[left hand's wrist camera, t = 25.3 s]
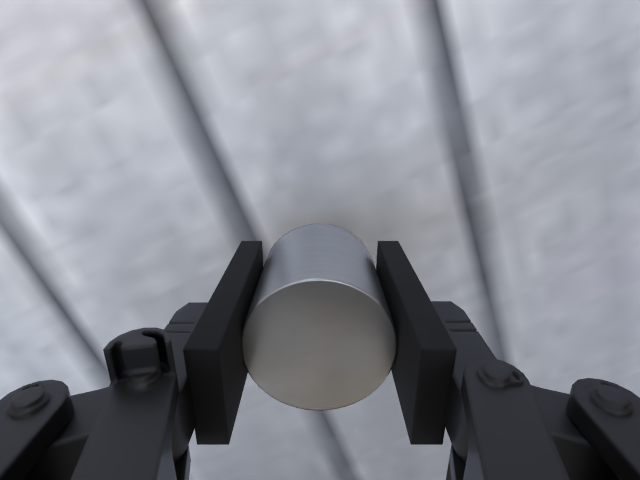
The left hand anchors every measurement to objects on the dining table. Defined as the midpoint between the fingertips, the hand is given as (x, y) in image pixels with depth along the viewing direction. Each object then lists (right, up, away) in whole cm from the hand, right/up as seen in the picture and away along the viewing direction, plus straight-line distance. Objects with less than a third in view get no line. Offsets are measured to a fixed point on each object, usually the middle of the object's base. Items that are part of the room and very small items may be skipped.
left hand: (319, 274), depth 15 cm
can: (0, 0, 0) cm, 0 cm away
